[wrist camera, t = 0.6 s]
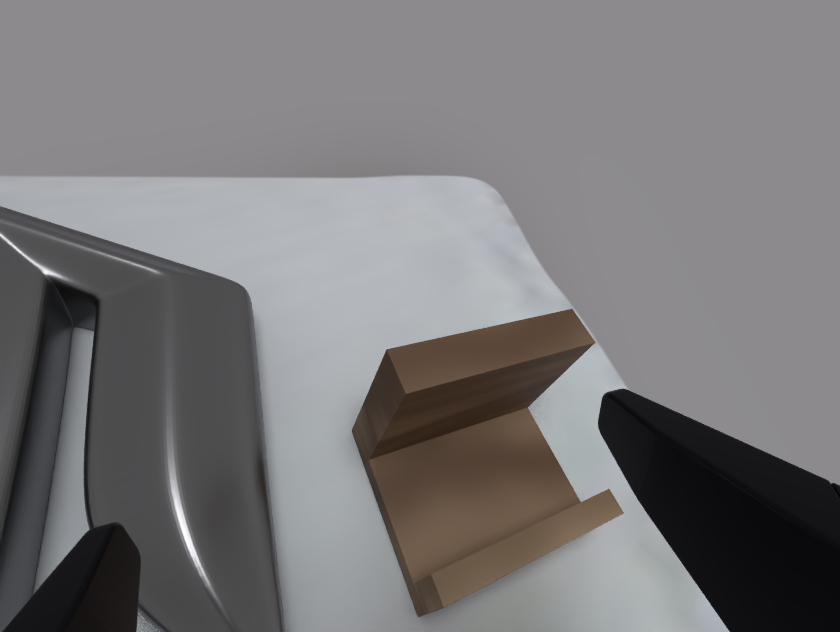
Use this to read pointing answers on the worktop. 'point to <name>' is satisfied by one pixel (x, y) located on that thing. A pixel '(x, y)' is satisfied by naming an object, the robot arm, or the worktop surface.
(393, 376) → the board
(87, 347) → the worktop surface
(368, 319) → the worktop surface
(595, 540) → the worktop surface
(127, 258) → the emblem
